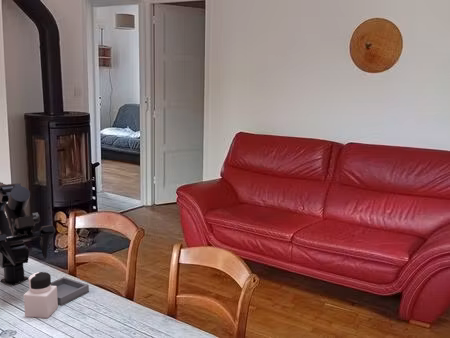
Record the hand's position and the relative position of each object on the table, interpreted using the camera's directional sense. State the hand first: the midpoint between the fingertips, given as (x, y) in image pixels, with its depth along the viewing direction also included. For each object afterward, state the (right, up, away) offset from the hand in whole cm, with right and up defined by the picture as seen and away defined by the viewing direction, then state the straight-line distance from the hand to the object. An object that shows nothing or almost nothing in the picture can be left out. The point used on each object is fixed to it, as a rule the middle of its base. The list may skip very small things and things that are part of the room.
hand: (30, 261), depth 153 cm
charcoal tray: (+7, -12, +8) cm, 16 cm away
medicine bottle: (+5, -15, -3) cm, 16 cm away
